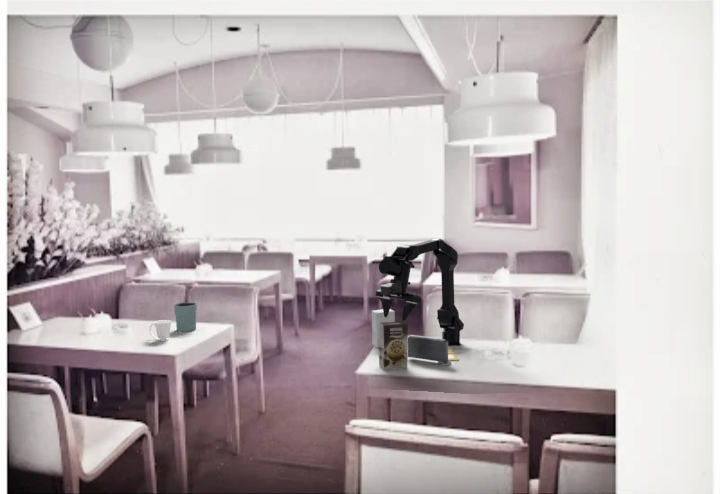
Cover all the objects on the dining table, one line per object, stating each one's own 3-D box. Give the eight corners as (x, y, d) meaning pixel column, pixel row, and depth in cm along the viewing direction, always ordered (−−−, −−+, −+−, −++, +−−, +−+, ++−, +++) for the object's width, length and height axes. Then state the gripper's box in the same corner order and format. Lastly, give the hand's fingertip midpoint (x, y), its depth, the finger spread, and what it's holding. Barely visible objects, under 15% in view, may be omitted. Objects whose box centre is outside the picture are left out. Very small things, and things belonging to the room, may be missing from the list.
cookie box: (384, 370, 224) (383, 325, 223) (378, 365, 230) (378, 321, 229) (408, 368, 226) (408, 323, 225) (402, 363, 233) (402, 320, 231)
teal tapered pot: (181, 333, 284) (180, 306, 283) (171, 329, 292) (170, 304, 291) (201, 329, 291) (200, 304, 290) (191, 326, 298) (190, 301, 297)
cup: (166, 342, 267) (165, 323, 267) (145, 341, 270) (144, 322, 269) (175, 338, 274) (174, 320, 274) (154, 337, 277) (154, 319, 276)
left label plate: (454, 354, 244) (454, 353, 244) (459, 360, 236) (459, 359, 236) (439, 355, 244) (439, 354, 243) (443, 360, 236) (443, 359, 236)
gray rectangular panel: (448, 361, 232) (448, 339, 231) (445, 362, 230) (445, 340, 229) (410, 355, 240) (410, 334, 239) (407, 356, 238) (407, 335, 237)
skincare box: (390, 343, 263) (389, 308, 262) (395, 346, 257) (395, 310, 256) (371, 345, 260) (371, 309, 259) (376, 348, 255) (376, 312, 253)
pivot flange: (449, 362, 234) (449, 360, 234) (452, 365, 229) (452, 364, 229) (436, 362, 234) (436, 360, 234) (438, 366, 229) (438, 364, 229)
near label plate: (448, 349, 253) (448, 347, 253) (452, 354, 245) (452, 353, 245) (433, 349, 252) (433, 348, 252) (437, 354, 244) (437, 353, 244)
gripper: (369, 272, 239) (362, 313, 238) (405, 277, 226) (398, 320, 224) (388, 276, 247) (382, 316, 246) (425, 281, 233) (418, 323, 232)
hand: (394, 319), depth 237 cm, fingers open, 9 cm apart
